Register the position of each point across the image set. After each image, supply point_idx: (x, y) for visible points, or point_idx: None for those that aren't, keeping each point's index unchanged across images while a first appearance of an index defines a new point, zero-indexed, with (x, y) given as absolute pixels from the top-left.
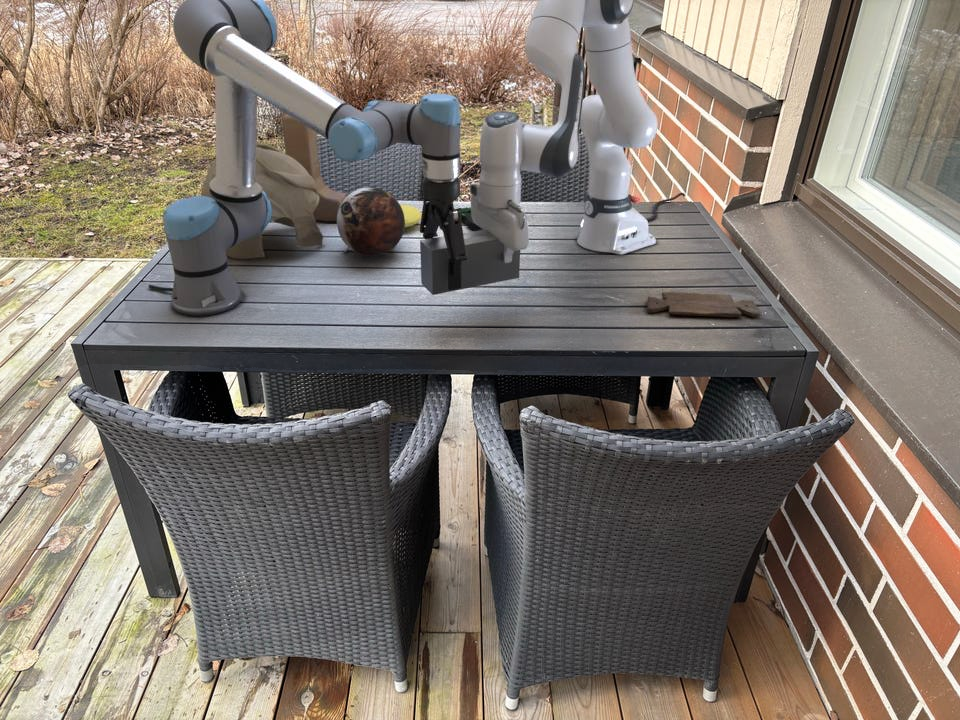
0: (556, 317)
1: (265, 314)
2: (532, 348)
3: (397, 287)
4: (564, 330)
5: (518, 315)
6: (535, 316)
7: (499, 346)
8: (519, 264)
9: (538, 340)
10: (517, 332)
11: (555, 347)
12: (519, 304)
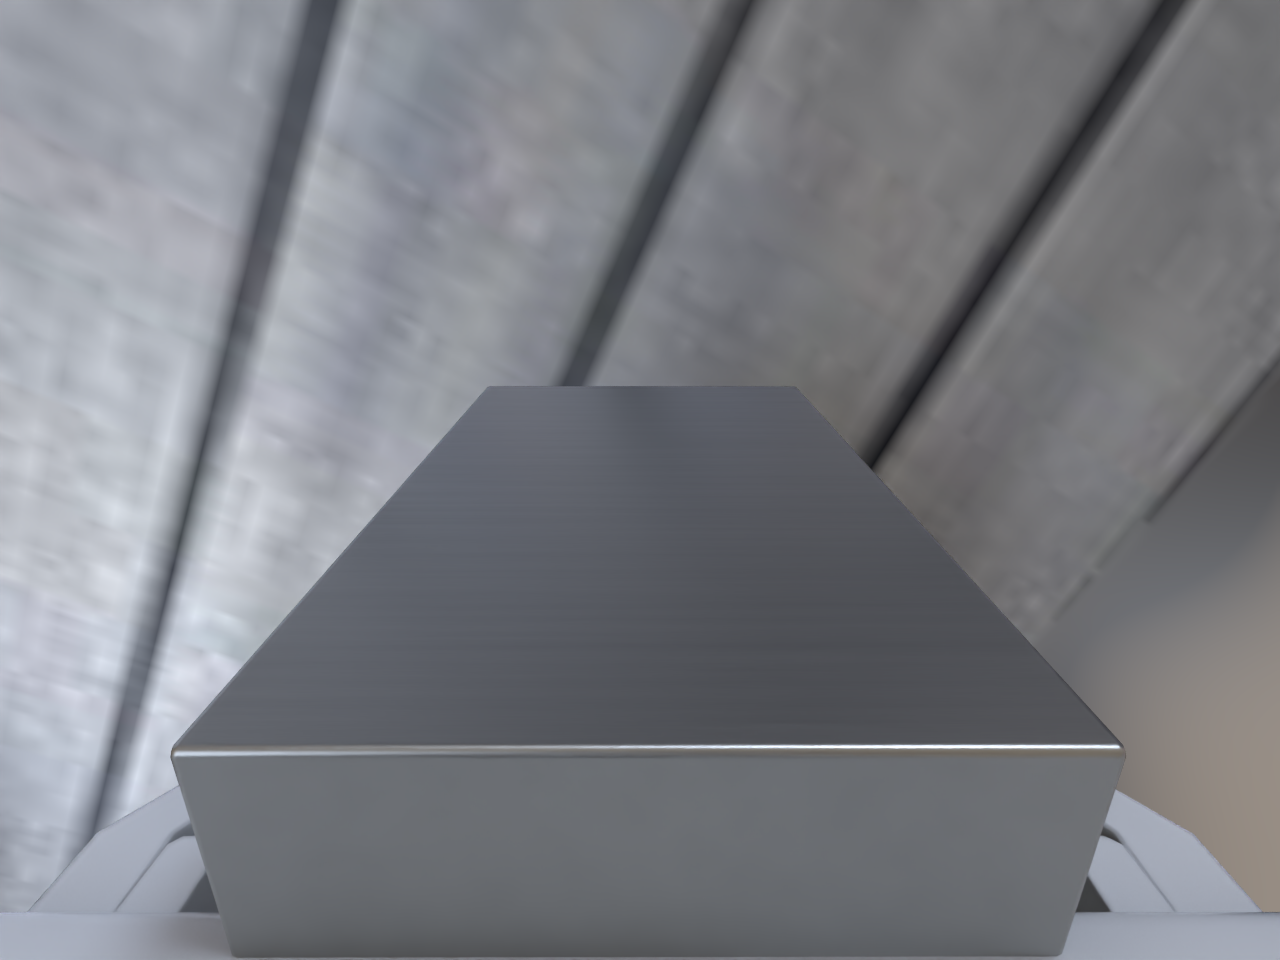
0: (936, 66)
1: None
2: (1167, 464)
3: (131, 790)
4: (1133, 132)
5: (761, 326)
6: (835, 219)
7: (1027, 610)
8: (842, 439)
9: (1118, 382)
10: (956, 449)
11: (1259, 331)
12: (611, 229)
